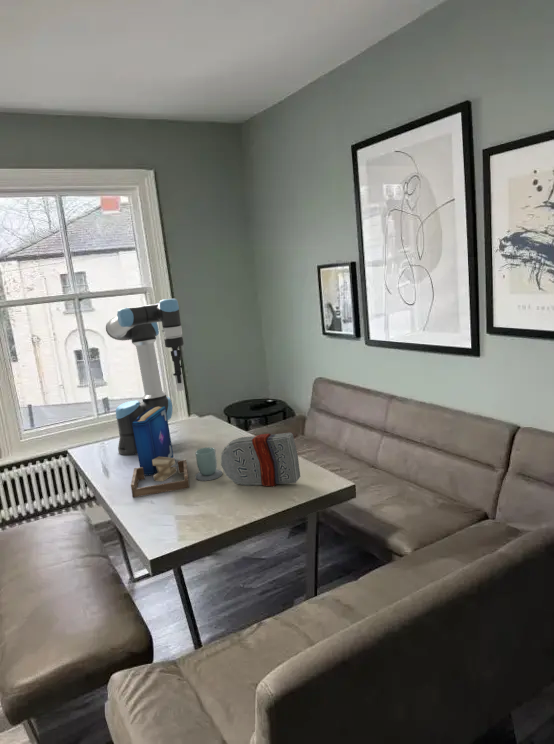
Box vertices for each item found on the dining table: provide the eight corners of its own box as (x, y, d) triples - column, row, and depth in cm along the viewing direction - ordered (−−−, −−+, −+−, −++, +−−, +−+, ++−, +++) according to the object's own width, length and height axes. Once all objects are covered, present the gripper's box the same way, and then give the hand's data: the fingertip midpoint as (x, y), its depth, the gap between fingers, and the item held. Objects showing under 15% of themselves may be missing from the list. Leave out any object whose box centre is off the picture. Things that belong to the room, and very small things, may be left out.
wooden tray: (135, 479, 230) (134, 468, 229) (187, 471, 234) (186, 459, 233) (132, 497, 212) (130, 485, 211) (189, 487, 215) (187, 475, 214)
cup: (211, 478, 221) (208, 454, 219) (195, 477, 224) (191, 453, 223) (221, 470, 228) (218, 447, 226) (205, 469, 231) (202, 446, 229)
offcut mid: (159, 475, 226) (158, 469, 225) (156, 469, 234) (155, 462, 234) (170, 473, 227) (169, 467, 227) (166, 466, 236) (165, 460, 235)
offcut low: (154, 482, 227) (153, 475, 227) (168, 472, 236) (167, 466, 236) (163, 482, 226) (162, 476, 225) (176, 473, 234) (175, 467, 234)
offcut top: (168, 467, 226) (167, 461, 225) (152, 465, 230) (152, 459, 229) (175, 464, 229) (174, 458, 229) (159, 462, 234) (158, 456, 233)
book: (154, 477, 231) (145, 419, 227) (138, 477, 233) (129, 420, 228) (174, 458, 252) (166, 405, 247) (160, 458, 254) (151, 405, 249)
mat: (194, 473, 230) (194, 471, 230) (221, 468, 232) (221, 467, 232) (195, 482, 220) (195, 481, 220) (223, 478, 222) (223, 476, 221)
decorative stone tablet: (294, 430, 206) (221, 437, 217) (288, 435, 200) (214, 442, 211) (303, 479, 209) (231, 483, 220) (298, 486, 203) (225, 490, 214)
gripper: (164, 334, 240) (171, 382, 244) (163, 342, 216) (171, 394, 220) (181, 332, 241) (188, 379, 245) (183, 339, 217) (190, 392, 221)
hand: (180, 387), depth 233 cm, fingers open, 13 cm apart
